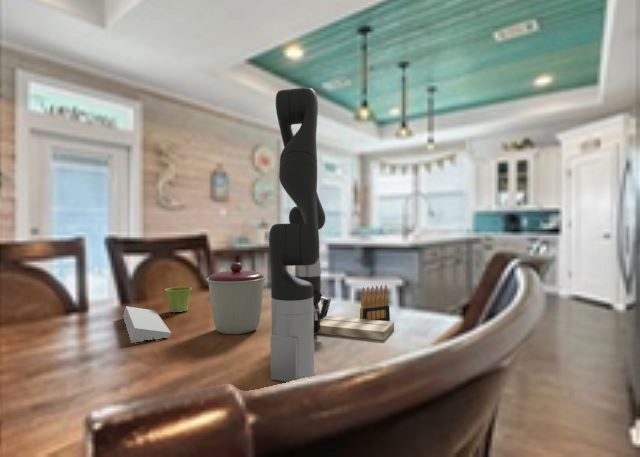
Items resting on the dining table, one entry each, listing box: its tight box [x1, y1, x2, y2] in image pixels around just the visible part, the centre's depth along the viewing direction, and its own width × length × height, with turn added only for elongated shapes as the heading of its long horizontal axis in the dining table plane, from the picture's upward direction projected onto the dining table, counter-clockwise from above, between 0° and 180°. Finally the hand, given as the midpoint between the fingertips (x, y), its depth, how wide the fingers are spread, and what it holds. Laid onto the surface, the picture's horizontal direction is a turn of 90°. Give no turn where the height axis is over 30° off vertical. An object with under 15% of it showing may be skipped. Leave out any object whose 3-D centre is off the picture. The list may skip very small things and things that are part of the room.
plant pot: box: [164, 286, 193, 313], centre depth 154 cm, size 9×9×9 cm
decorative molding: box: [122, 306, 172, 343], centre depth 132 cm, size 34×5×10 cm
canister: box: [205, 262, 267, 335], centre depth 127 cm, size 18×18×21 cm
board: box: [318, 315, 395, 341], centre depth 126 cm, size 28×12×2 cm, turn 66°
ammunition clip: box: [359, 284, 391, 321], centre depth 135 cm, size 11×2×12 cm, turn 116°
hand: (308, 331), depth 121 cm, fingers closed on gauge, 4 cm apart
